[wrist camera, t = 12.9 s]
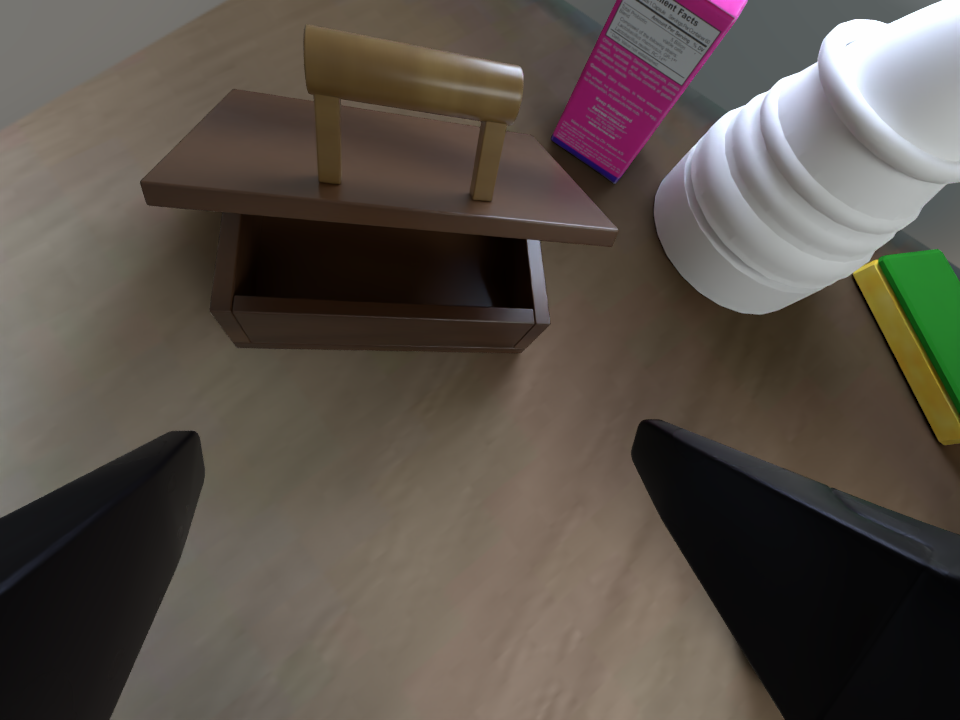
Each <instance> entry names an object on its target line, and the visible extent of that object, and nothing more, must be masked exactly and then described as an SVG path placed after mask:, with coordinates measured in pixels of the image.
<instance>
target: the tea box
mask: <svg viewBox="0 0 960 720" xmlns="http://www.w3.org/2000/svg"><path fill="white" fill-rule="evenodd" d="M210 312H211V314H212V315H213V316H214V318H215V319H216V321H217V322H218V323H219V325H220V326H221V327H222V329H223V330H224V331H225V333H226V334H227V335H228V337H229V338H230V339H231V341H232V342H233V343H234V344H235V346H236V347H237V348H268V349H322V350H375V351H428V352H482V353H522V352H523V351H524V350H525V349H526V348H527V347H528V346H529V345H530V344H531V343H532V342H533V341H534V340H535V339H536V338H537V337H538V336H539V335H540V334H541V333H542V332H543V331H544V330H545V329H546V328H547V327H548V326H549V325H550V324H551V323H550V315H549V307H548V299H547V292H546V284H545V276H544V268H543V260H542V253H541V245H540V241H539V240H528V239H517V238H506V237H495V236H484V235H472V234H461V233H450V232H439V231H428V230H416V229H405V228H394V227H383V226H372V225H361V224H349V223H338V222H327V221H316V220H305V219H293V218H282V217H271V216H260V215H249V214H238V213H226V212H222V219H221V227H220V234H219V242H218V250H217V257H216V265H215V273H214V280H213V288H212V296H211V303H210Z"/></svg>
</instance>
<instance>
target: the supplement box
mask: <svg viewBox="0 0 960 720" xmlns="http://www.w3.org/2000/svg"><path fill="white" fill-rule="evenodd" d="M747 1H748V0H616V3H615V5H614V7H613V9H612V11H611V13H610V15H609V17H608V19H607V22H606V24H605V26H604V28H603V30H602V32H601V34H600V36H599V38H598V40H597V42H596V45H595V47H594V49H593V51H592V53H591V55H590V57H589V59H588V61H587V63H586V65H585V67H584V70H583V72H582V74H581V76H580V78H579V80H578V82H577V84H576V86H575V88H574V91H573V93H572V95H571V97H570V99H569V101H568V103H567V105H566V107H565V110H564V112H563V114H562V116H561V118H560V120H559V122H558V124H557V126H556V129H555V131H554V133H553V135H552V137H551V140H552V141H553V142H555V143H556V144H558V145H559V146H560V147H562V148H563V149H565V150H566V151H568V152H569V153H571V154H572V155H574V156H575V157H577V158H578V159H580V160H581V161H583V162H584V163H586V164H587V165H588V166H590V167H591V168H593V169H594V170H596V171H597V172H598V173H600V174H601V175H603V176H604V177H606V178H607V179H608V180H609V181H611V182H612V183H614V184H615V183H617V182H618V180H619V179H620V178H621V176H622V175H623V174H624V172H625V171H626V169H627V168H628V167H629V165H630V164H631V162H632V161H633V160H634V158H635V157H636V156H637V154H638V153H639V152H640V150H641V149H642V148H643V146H644V145H645V144H646V142H647V141H648V139H649V138H650V137H651V135H652V134H653V133H654V131H655V130H656V128H657V127H658V126H659V124H660V123H661V121H662V120H663V119H664V117H665V116H666V115H667V113H668V112H669V111H670V109H671V108H672V107H673V105H674V104H675V103H676V101H677V100H678V99H679V97H680V96H681V94H682V93H683V92H684V90H685V89H686V88H687V86H688V85H689V84H690V82H691V81H692V79H693V78H694V77H695V75H696V74H697V73H698V71H699V70H700V69H701V67H702V66H703V65H704V63H705V62H706V61H707V59H708V58H709V57H710V55H711V54H712V52H713V51H714V50H715V48H716V47H717V46H718V44H719V43H720V41H721V40H722V39H723V37H724V36H725V34H726V33H727V32H728V31H729V29H730V28H731V27H732V25H733V24H734V22H735V21H736V20H737V18H738V16H739V15H740V13H741V12H742V10H743V8H744V6H745V5H746V3H747Z"/></svg>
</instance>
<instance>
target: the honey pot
mask: <svg viewBox="0 0 960 720" xmlns="http://www.w3.org/2000/svg"><path fill="white" fill-rule="evenodd" d="M847 44H849V45H847ZM846 45H847V46H846ZM957 182H960V0H943V1H940V2H938V3H935V4H932V5H930V6H928V7H925V8H923V9H921V10H919V11H916V12H914V13H912V14H909V15H907V16H905V17H903V18H901V19H899V20H896V21H894V22H892V23H890V24H885V23H882V22H879V21H876V20H861V19H855V20H852V21H848V22H845V23H842V24H839V25H838V26H837V27H835V28H834V29H833V30H832V31H831V32H830V33H829V34H828V35H827V36H826V37H825V39H824V40H823V41H822V44H821V48H820V52H819V55H818V62H817V63H815V64H813V65H812V66H810V67H808V68H806V69H805V70H803V71H801V72H800V73H797V74H794V75H791V76H788V77H785V78H783V79H781V80H779V81H778V82H777V83H776V84H775V85H774V86H773V87H772V88H771V89H770V90H769V91H768V92H765V93H762V94H760V95H757V96H756V97H755V98H753V99H752V100H751V101H750V102H749V103H748V104H747V105H745V106H742V107H740V108H737V109H735V110H732V111H729V112H728V113H727V114H725V115H724V116H723V117H721V118H720V119H719V120H718V121H717V122H716V123H715V124H714V125H713V126H712V127H711V128H710V129H709V130H708V132H707V133H706V134H705V135H704V136H703V137H702V138H701V139H700V140H699V141H698V143H697V144H696V145H695V146H693V147H692V148H691V150H690V151H689V152H688V153H687V154H686V155H685V156H684V157H683V158H682V159H681V161H680V162H679V163H678V164H677V165H676V166H675V167H674V168H673V169H672V170H671V171H670V173H669V174H668V175H667V176H666V177H665V178H664V179H663V180H662V182H661V184H660V186H659V188H658V191H657V193H656V195H655V203H654V219H655V224H656V229H657V235H658V237H659V239H660V241H661V244H662V246H663V248H664V250H665V252H666V255H667V256H668V258H669V259H670V261H671V262H672V263H673V265H674V266H675V268H676V269H677V270H678V272H679V273H680V274H681V276H682V277H683V278H684V279H685V280H687V281H688V282H689V283H690V284H691V285H692V286H693V287H694V288H695V289H696V290H697V291H698V292H699V293H701V294H702V295H704V296H706V297H707V298H709V299H710V300H712V301H714V302H715V303H717V304H718V305H720V306H723V307H725V308H728V309H731V310H734V311H737V312H740V313H747V314H759V315H762V314H766V313H770V312H774V311H778V310H780V309H782V308H784V307H786V306H788V305H791V304H793V303H795V302H797V301H799V300H801V299H803V298H805V297H807V296H809V295H811V294H813V293H815V292H817V291H820V290H822V289H823V288H824V287H826V286H829V285H832V284H833V283H835V282H836V281H837V280H839V279H843V278H846V277H848V276H849V275H851V274H852V273H853V272H855V271H856V270H858V269H859V268H860V267H862V266H863V265H864V264H866V263H867V262H869V261H870V259H871V257H872V255H873V254H874V252H875V250H877V249H878V248H880V247H881V246H882V245H884V244H885V243H887V242H888V241H889V240H891V239H892V238H893V237H894V235H895V233H896V232H897V231H899V230H901V229H903V228H904V227H905V226H907V225H908V224H909V223H911V222H912V221H914V220H915V219H916V218H917V217H918V215H919V213H920V211H921V209H922V207H923V206H924V205H925V204H926V203H927V202H928V201H929V200H930V199H932V198H933V197H934V196H935V195H936V194H937V193H938V192H939V191H940V190H941V189H942V188H943V187H944V186H945V185H946V184H949V183H957Z"/></svg>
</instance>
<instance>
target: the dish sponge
mask: <svg viewBox="0 0 960 720" xmlns="http://www.w3.org/2000/svg"><path fill="white" fill-rule="evenodd" d="M853 276H854V278H855V280H856V281H857V283H858V285H859V287H860V289H861V291H862V293H863V295H864V297H865V299H866V301H867V303H868V305H869V307H870V309H871V311H872V313H873V315H874V316H875V318H876V320H877V322H878V324H879V326H880V328H881V330H882V332H883V334H884V336H885V338H886V340H887V342H888V344H889V346H890V348H891V349H892V351H893V353H894V355H895V357H896V359H897V361H898V363H899V365H900V367H901V369H902V371H903V373H904V375H905V377H906V379H907V381H908V383H909V384H910V386H911V388H912V390H913V392H914V394H915V396H916V398H917V400H918V402H919V404H920V406H921V408H922V410H923V412H924V414H925V416H926V417H927V419H928V421H929V423H930V425H931V427H932V429H933V431H934V433H935V435H936V437H937V439H938V441H939V442H940V443H942V444H943V445H950V444H958V443H960V282H959V280H958V278H957V276H956V275H955V273H954V271H953V270H952V268H951V266H950V264H949V263H948V261H947V259H946V258H945V256H944V254H943V253H942V252H941V251H940V250H938V249H935V250H927V251H919V252H910V253H902V254H894V255H886V256H882V257H880V258H879V260H874V261H872V262H870V263H868V264H866V265H864V266H862V267H860V268H859V269H858V270H856V271H855V272H853Z"/></svg>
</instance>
